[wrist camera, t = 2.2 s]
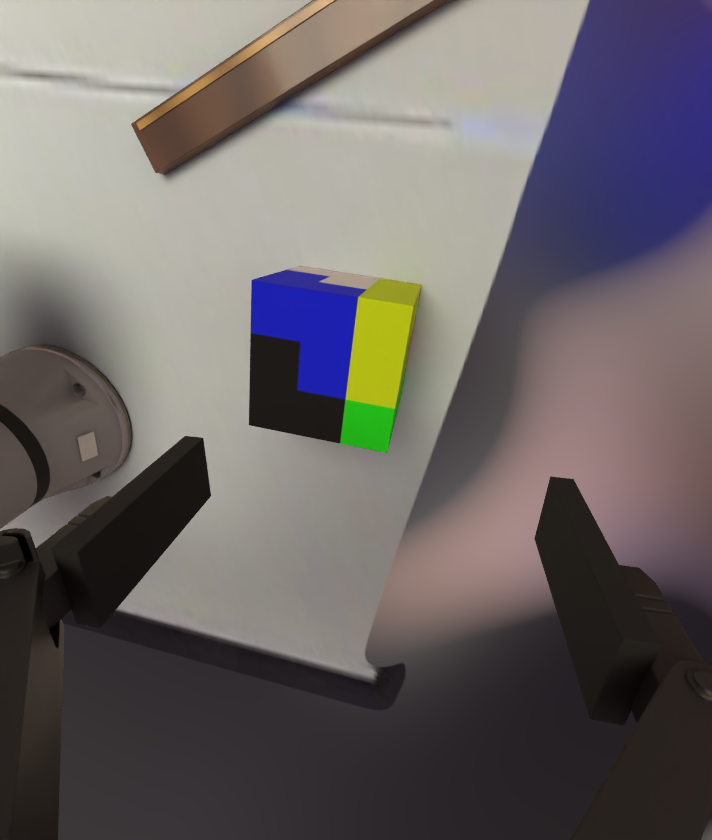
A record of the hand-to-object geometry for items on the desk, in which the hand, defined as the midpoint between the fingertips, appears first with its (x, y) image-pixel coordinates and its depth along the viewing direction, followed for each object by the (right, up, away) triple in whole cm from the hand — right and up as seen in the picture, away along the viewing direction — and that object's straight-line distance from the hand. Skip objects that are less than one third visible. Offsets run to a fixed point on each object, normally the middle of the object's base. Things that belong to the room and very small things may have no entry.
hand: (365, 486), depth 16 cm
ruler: (-4, +28, +13) cm, 31 cm away
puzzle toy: (-1, +10, +21) cm, 23 cm away
